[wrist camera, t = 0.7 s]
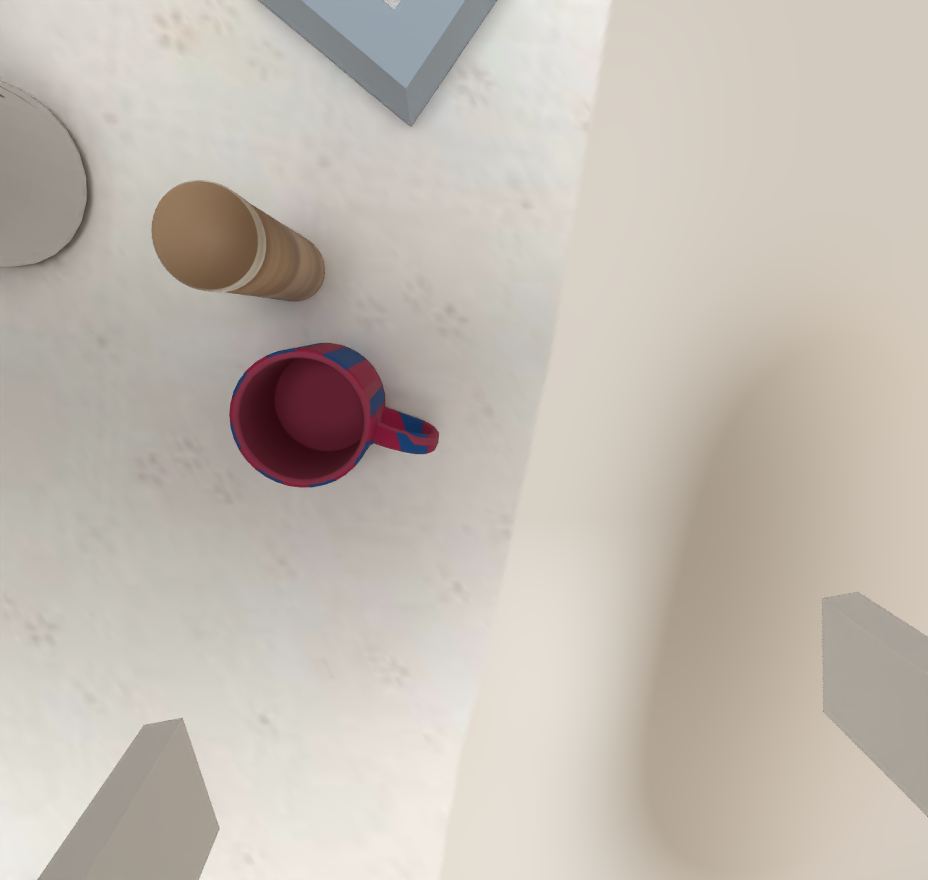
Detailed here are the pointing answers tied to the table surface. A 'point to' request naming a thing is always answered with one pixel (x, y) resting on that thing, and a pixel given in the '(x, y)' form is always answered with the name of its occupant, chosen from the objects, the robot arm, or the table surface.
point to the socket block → (388, 42)
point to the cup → (317, 415)
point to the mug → (36, 181)
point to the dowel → (232, 245)
